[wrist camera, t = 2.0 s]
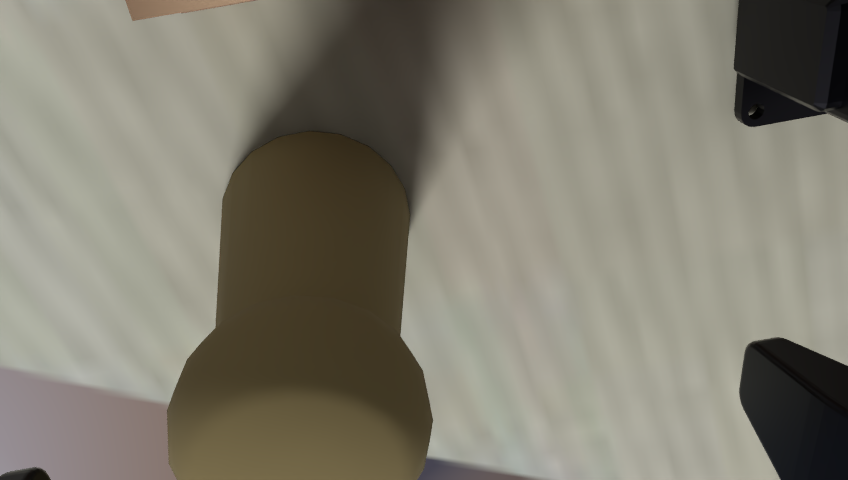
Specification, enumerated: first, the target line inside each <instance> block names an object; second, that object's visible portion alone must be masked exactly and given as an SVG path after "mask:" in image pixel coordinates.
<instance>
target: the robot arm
mask: <svg viewBox="0 0 848 480" xmlns="http://www.w3.org/2000/svg"><path fill="white" fill-rule="evenodd" d="M734 70H735V71H736V72H737V84H736V96H735V109H734V112H735V117H736V118H737V120H738V121H740V122H741V123H743V124H745V125H747V126H749V127H756V126H762V125H767V124H773V123H778V122H783V121H789V120H794V119H800V118H805V117H811V116H816V115H822V114H827V113H828V114H830V115H832V116H834V117H837V118H839V119H841V120H843V121H845V122H847V123H848V0H739V7H738V20H737V33H736V45H735V58H734ZM755 104H757V109H756V111H755V112H754V113H753V114H752V115H749V110H750V108H751V107H752V106H753V105H755ZM739 394H740V400H741V404H742V406H743V409H744V411H745V413H746V415H747V417H748V418H749V420H750V422H751V424H752V426H753V428H754V430H755V432H756V434H757V436H758V438H759V439H760V441H761V443H762V445H763V447H764V449H765V451H766V453H767V455H768V457H769V458H770V460H771V462H772V464H773V466H774V468H775V470H776V472H777V474H778V476H779V477H780V479H781V480H848V366H847V365H844V364H842V363H840V362H837V361H835V360H833V359H831V358H828V357H826V356H824V355H821V354H819V353H817V352H814V351H812V350H810V349H808V348H805V347H803V346H801V345H798V344H796V343H794V342H792V341H789V340H787V339H784V338H780V337H777V338H770V339H764V340H758V341H753V342H751V343H749V344H748V346H747V347H746V350H745V354H744V361H743V368H742V374H741V381H740V388H739ZM0 480H51V479H50V478H49V476H48V474H47V473H46V471H44V470H43V469H41V468H36V467H33V468H28V469H22V470H16V471H10V472H7V473H5V474H3V475H1V476H0Z"/></svg>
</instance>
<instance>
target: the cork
mask: <svg viewBox="0 0 848 480" xmlns="http://www.w3.org/2000/svg"><path fill="white" fill-rule="evenodd" d="M409 221H410V213H409V207H408V202H407V197H406V192H405V189H404V187H403V185H402V184H401V182H400V180H399V178H398V177H397V175H396V173H395V172H394V170H393V168H392V167H391V165H390V164H388V163H387V162H386V161H385V160H384V159H383V158H382V157H380V156H379V155H378V154H377V153H376V152H375V151H373V150H372V149H371V148H370V147H369V146H367V145H364V144H362V143H360V142H357V141H355V140H353V139H350V138H348V137H345V136H343V135H341V134H333V133H323V132H314V131H307V132H302V133H296V134H291V135H286V136H281V137H278V138H276V139H274V140H272V141H270V142H269V143H267V144H265V145H263V146H261V147H260V148H258V149H256V150H254V151H252V152H251V153H250V155H249V156H248V157H247V158H246V159H245V160H244V161H243V162H242V163H241V165H240V166H239V167H238V168H237V169H236V170H235V171H234V172H233V174H232V176H231V179H230V181H229V184H228V187H227V189H226V192H225V194H224V197H223V202H222V220H221V239H220V257H219V275H218V293H217V311H216V328H215V329H214V330H213V331H212V332H211V333H210V334H209V335H208V336H207V337H206V338H205V339H204V341H203V342H202V343H201V344H200V345H199V346H198V347H197V348H196V350H195V351H194V352H193V353H192V354H191V356H190V357H189V358H188V359H187V361H186V364H185V366H184V368H183V371H182V373H181V376H180V378H179V380H178V383H177V385H176V388H175V390H174V393H173V396H172V398H171V401H170V404H169V407H168V410H167V421H168V422H167V424H168V453H169V454H168V455H169V465H170V467H171V469H172V471H173V473H174V475H175V477H176V479H177V480H417V479H418V477H419V476H420V474H421V473H422V471H423V470H424V466H425V461H426V456H427V451H428V446H429V441H430V435H431V429H432V423H433V418H432V413H431V408H430V403H429V398H428V393H427V389H426V384H425V379H424V374H423V370H422V369H421V367H420V366H419V364H418V362H417V361H416V359H415V357H414V356H413V354H412V353H411V351H410V350H409V348H408V347H407V345H406V344H405V343H404V341H403V340H402V338H401V337H400V333H401V320H402V308H403V296H404V283H405V271H406V258H407V246H408V234H409Z"/></svg>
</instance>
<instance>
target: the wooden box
mask: <svg viewBox="0 0 848 480" xmlns="http://www.w3.org/2000/svg"><path fill="white" fill-rule="evenodd" d="M250 1H256V0H126V3H127V6H128V9H129V12H130V15H131V18H132V20H133V21H135V20H140V19H146V18H152V17H158V16H163V15H169V14H175V13H187V12H193V11H198V10H204V9H210V8H216V7H221V6H227V5H233V4H239V3H244V2H250Z"/></svg>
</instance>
